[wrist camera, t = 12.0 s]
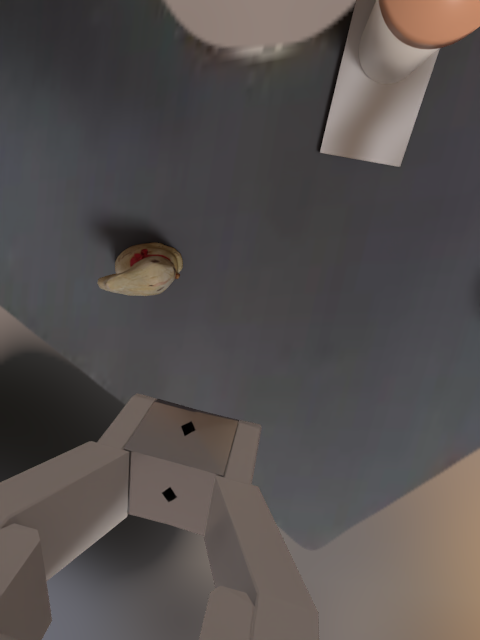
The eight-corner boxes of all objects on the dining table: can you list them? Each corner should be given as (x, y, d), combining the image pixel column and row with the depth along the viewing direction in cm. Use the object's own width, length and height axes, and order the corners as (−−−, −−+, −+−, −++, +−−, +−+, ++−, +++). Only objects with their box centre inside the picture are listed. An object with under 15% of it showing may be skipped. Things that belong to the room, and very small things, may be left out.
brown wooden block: (270, 144, 31) (260, 138, 24) (326, -164, 23) (334, -301, 16) (450, 176, 30) (492, 179, 23) (577, -141, 22) (700, -281, 15)
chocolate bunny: (180, 296, 39) (142, 335, 30) (117, 271, 39) (61, 302, 30) (193, 252, 37) (156, 280, 28) (126, 225, 37) (68, 244, 28)
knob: (342, 84, 28) (366, 30, 17) (366, -12, 25) (413, -155, 14) (417, 96, 27) (495, 48, 16) (450, -1, 25) (569, -140, 13)
